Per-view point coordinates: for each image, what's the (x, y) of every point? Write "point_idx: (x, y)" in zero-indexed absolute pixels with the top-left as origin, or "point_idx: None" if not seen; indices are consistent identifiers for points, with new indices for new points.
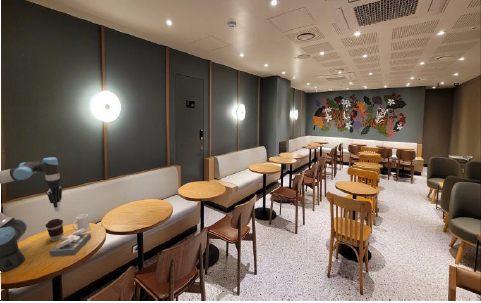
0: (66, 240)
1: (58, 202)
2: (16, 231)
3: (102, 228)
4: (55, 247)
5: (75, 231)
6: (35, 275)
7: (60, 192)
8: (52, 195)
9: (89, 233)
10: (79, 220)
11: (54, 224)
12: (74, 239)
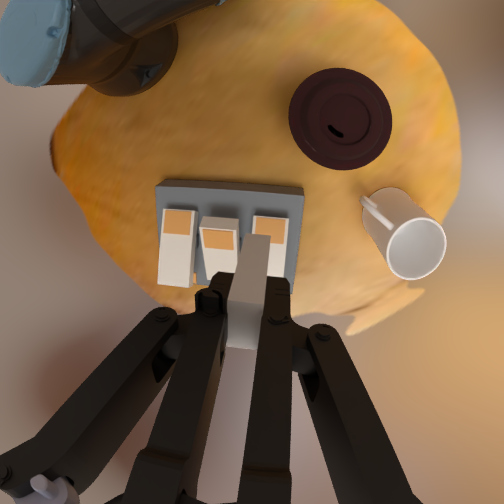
0: (174, 260)
1: (243, 347)
2: (93, 38)
3: (370, 294)
4: (182, 194)
5: (278, 251)
6: (77, 200)
7: (330, 474)
8: (101, 457)
9: (290, 290)
10: (383, 242)
11: (307, 138)
12: (207, 273)
